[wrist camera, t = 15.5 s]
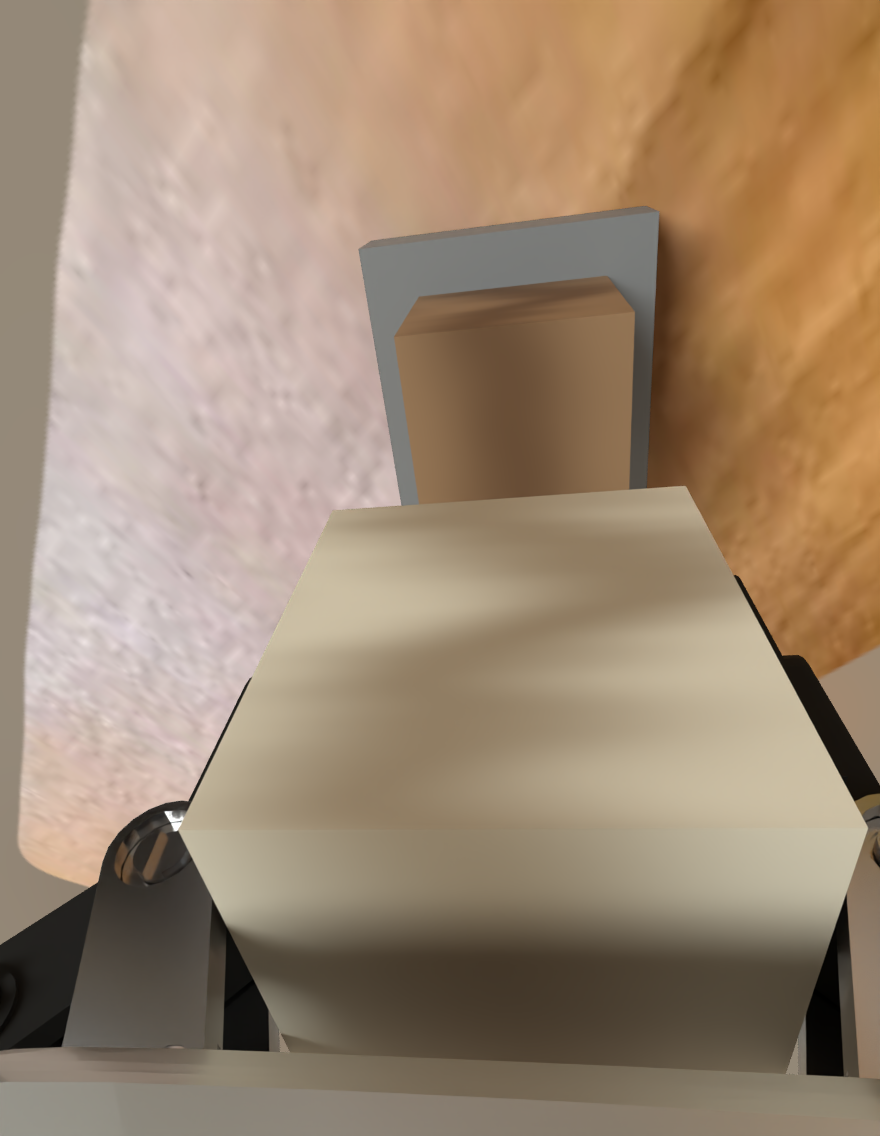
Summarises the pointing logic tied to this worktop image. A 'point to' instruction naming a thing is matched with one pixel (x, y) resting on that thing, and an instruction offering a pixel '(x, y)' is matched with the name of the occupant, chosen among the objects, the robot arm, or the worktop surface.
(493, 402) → the walnut block
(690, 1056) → the maple block
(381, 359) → the slate slab
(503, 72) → the worktop surface
